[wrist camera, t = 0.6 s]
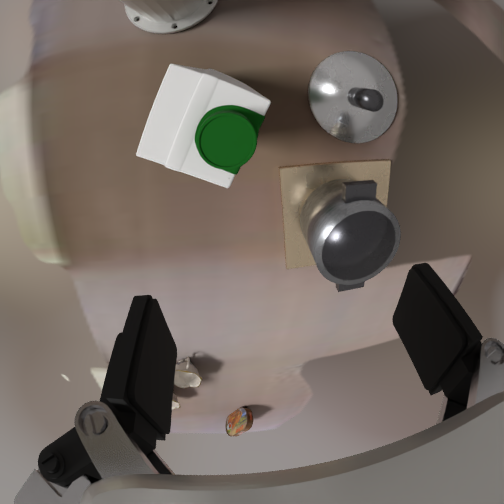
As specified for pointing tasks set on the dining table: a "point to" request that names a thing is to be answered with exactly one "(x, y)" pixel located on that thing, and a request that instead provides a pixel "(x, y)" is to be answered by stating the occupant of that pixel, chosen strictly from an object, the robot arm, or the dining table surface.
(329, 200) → the pot
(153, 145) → the soya milk
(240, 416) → the tin
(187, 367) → the chinaware
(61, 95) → the dining table surface
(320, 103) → the lid
